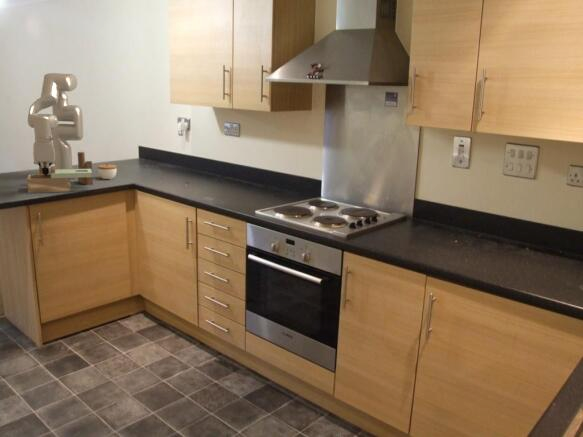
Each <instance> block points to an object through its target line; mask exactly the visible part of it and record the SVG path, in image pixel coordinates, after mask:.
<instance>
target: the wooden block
mask: <svg viewBox="0 0 583 437" xmlns="http://www.w3.org/2000/svg"><path fill="white" fill-rule="evenodd" d="M92 162H93V161H92V160H89V161H88V160H87V161H86V157H85V152H84V151H78V152H77V165H78V166H77V169H91V170H92V171H93V163H92ZM93 180H94V179H93V175H92V177H80V178H77V182H78V183H79V184H83V185H85V186H90V185H91V186H92V185H94V181H93Z"/></svg>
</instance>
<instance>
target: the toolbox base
mask: <svg viewBox="0 0 583 437" xmlns="http://www.w3.org/2000/svg"><path fill="white" fill-rule="evenodd" d="M26 182H27V192H28V194H29V193H34V194H35V193H54V192H56V193H58V192H59V193H61V192H71V179H70V178H51V173H49V174H48V175H47V176H46V175H45V176H44V174H42V175H40V174H28V175H27V179H26Z"/></svg>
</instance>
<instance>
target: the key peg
mask: <svg viewBox="0 0 583 437" xmlns="http://www.w3.org/2000/svg"><path fill="white" fill-rule="evenodd" d="M43 163H44V166H45V168H46V165H47V162H43ZM38 169H39V175H42V174H43V172H42V167H41V166H39V165H38ZM45 170H46V169H45Z"/></svg>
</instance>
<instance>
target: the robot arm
mask: <svg viewBox="0 0 583 437" xmlns="http://www.w3.org/2000/svg"><path fill="white" fill-rule="evenodd" d="M77 86H78V78H77V77H76V75H75V74H72V73H56V72H52V73H46V74H44V75H43V82H42V88H41V94H40V97H38V98H37V99H36V100H35V101H34V102H33V103H32V104H31V105H30V107H29V109H28V114H27V124H28V126H29V127H30V128H32V129H33V131H34V140H35V142H33V148H32V149H33V150H32V151H33V154H32V155H33V165H37V166H38V167H39V166H41V167H42V172H43V174H44V176H45V175H46V176H47V175H48V174H50V170H49V169H50V168H51V166H53V165H54V166H55V170H57V169H74V168H73V156H72V147H71V145H70V143H69V142H67V141H82V139H83V138H84V119H83V111H82V110H83V109H82V108H81V107H80V106H79V105H76V104H69V96H68V94H67V93H66V92H69V93H70V92H72V91H74V90H76V88H77ZM47 108H52V114H51V113H39V112H40V111H43V110H45V109H47ZM59 122H68V123H59ZM69 122H72V123H69ZM43 162H47V165H46V168H45V166H44V163H43ZM45 169H46V170H45ZM71 179H72V178H70V180H71Z"/></svg>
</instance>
